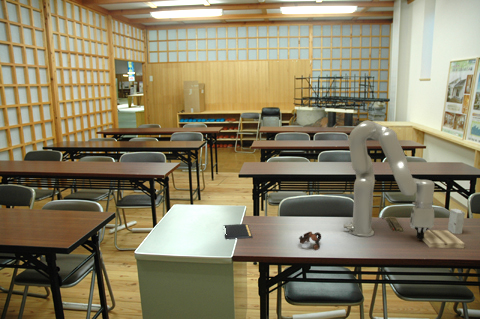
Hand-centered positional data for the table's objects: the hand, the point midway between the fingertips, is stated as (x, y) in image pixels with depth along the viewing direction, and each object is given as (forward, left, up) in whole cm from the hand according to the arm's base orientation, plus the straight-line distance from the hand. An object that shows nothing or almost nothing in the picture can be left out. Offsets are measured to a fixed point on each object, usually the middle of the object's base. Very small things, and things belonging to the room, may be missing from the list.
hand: (419, 238), depth 180 cm
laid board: (+14, 0, -1) cm, 14 cm away
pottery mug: (-56, -7, -1) cm, 56 cm away
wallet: (-94, +10, -2) cm, 95 cm away
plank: (+6, 0, -1) cm, 6 cm away
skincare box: (+24, +12, -1) cm, 27 cm away
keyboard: (-6, +22, -2) cm, 23 cm away
